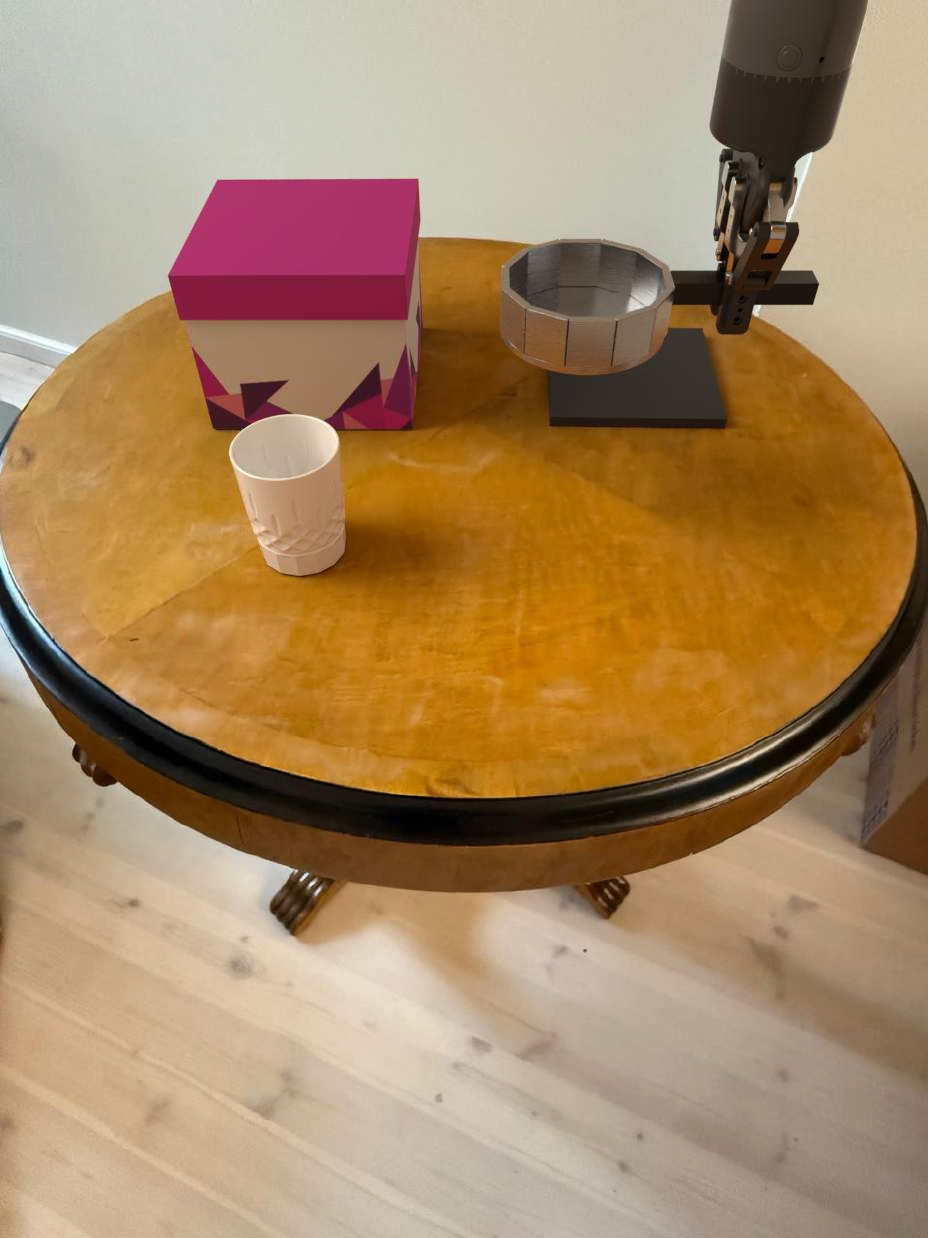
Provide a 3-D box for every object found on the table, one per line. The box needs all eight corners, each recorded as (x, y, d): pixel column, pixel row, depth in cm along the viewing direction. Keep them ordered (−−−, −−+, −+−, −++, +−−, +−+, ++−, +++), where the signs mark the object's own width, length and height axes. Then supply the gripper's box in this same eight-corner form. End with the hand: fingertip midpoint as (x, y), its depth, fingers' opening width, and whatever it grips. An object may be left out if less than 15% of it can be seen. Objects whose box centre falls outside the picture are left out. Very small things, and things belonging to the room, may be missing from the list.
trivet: (700, 336, 93) (702, 327, 92) (724, 428, 82) (727, 419, 81) (546, 335, 93) (546, 326, 93) (549, 425, 83) (550, 416, 82)
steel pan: (500, 375, 62) (501, 320, 59) (499, 290, 70) (500, 238, 67) (820, 375, 62) (838, 320, 59) (782, 290, 70) (796, 237, 67)
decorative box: (425, 325, 95) (418, 178, 84) (415, 431, 82) (404, 274, 71) (247, 325, 95) (217, 179, 84) (209, 431, 83) (167, 275, 72)
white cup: (320, 594, 68) (301, 491, 61) (235, 564, 71) (206, 462, 63) (371, 531, 73) (359, 429, 66) (289, 505, 75) (269, 403, 68)
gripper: (888, 90, 48) (801, 375, 61) (823, 16, 57) (759, 276, 70) (746, 91, 48) (689, 374, 61) (704, 17, 57) (663, 276, 70)
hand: (727, 321), depth 65 cm, fingers closed on steel pan, 2 cm apart
